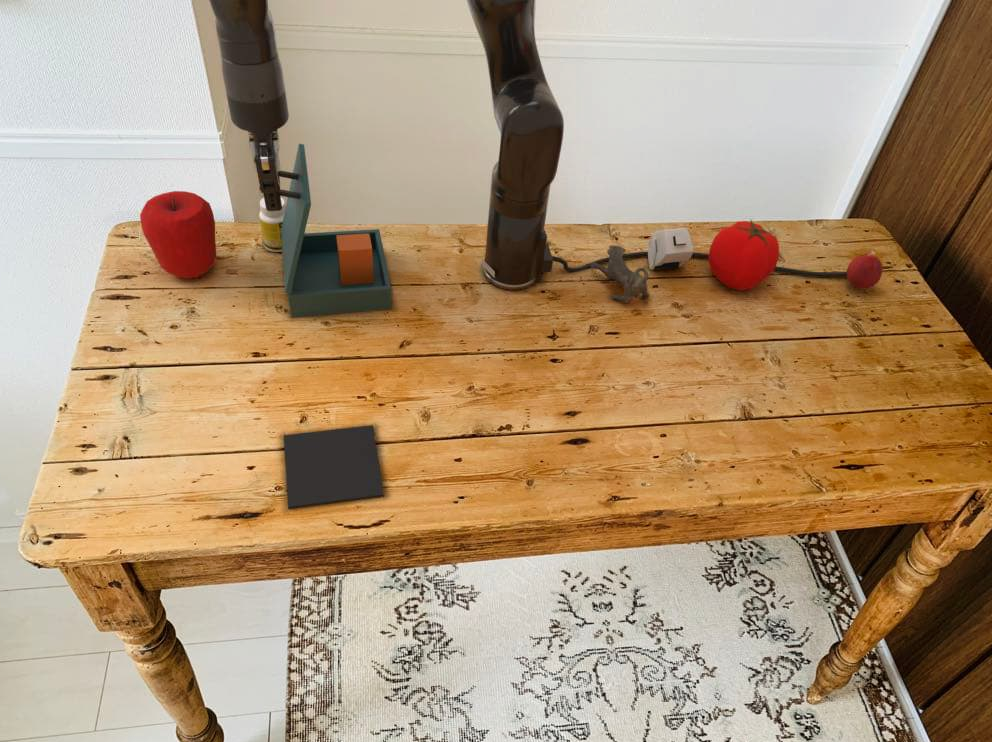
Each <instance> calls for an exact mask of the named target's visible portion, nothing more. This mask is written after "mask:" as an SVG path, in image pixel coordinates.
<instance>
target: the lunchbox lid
mask: <svg viewBox="0 0 992 742" xmlns="http://www.w3.org/2000/svg"><path fill="white" fill-rule="evenodd" d="M306 156H307V155H306V149H305V144H303V143H298V145H297V151H296V156H295V160H294V165H293V170H292V172H290V171H285V170H281V169H280V171H278V172H277V173H278V180H279V178H284V179H291V180H290V185H289V190H286V189H281V188H280V189H279V191H280V197H283V198H284V197H285V198H286V199H287V200H286V203H285V205H286V209H285V213H284V218H283V223H282V228H281V242H282V252H281V253H282V255H281V256H282V268H283V280H284V281H283V282H284V293H285V294H287V295H288V294H291V290H292V285H293V281H294V277H295V272H296V268H297V264H298V259H299V255H300V251H301V246H302V242H303V237H304V233H306V229H307V224H308V220H309V215H310V211H311V208H312V207H311V206H312V200H311V192H310V191H311V190H310V183H309V182H310V181H309V174H308V165H307V158H306Z"/></svg>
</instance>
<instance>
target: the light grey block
mask: <svg viewBox="0 0 992 742" xmlns="http://www.w3.org/2000/svg"><path fill="white" fill-rule="evenodd" d="M651 235H652V236H651V238H649V239H648V241H647V252H648V256H647V261H648V268H649V270H653V271H658V270H667V269H678V268H680V267H682V266H683V264H686V263H688V262H689V260H690V259H691V258H692V257H691V256H692V254H693V252H694V253H695V250H694V247H693V243H692V238H691V236H690V232H689V229H688V228H687V227H678V228H670V229H668V228H667V229H658V230H654V232H653V233H652V234H651Z"/></svg>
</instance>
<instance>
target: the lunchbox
mask: <svg viewBox="0 0 992 742" xmlns="http://www.w3.org/2000/svg"><path fill="white" fill-rule="evenodd" d="M368 233H369V235H370V240H371V246H372V259H373V282H374V283H368V284H354V285H341V281H340V274H339V264H338V252H337V240H336V235H351V234H368ZM386 260H387V259H386V256H385V251H384V246H383V242H382V236H381V231H380V229H379V228H376V229H375V228H374V229H360V230H359V229H358V230H339V231H322V232H321V231H319V232H305V233H304V237H303V242H302V246H301V251H300V255H299V259H298V264H297V268H296V272H295V277H294V281H293V285H292V290H291V294H288V293H287V295H288V296H287V299H288V304H289V311H290V317H291V318H298V317H309V316H310V317H311V316H322V315H323V316H324V315H335V314H347V313H361V312H372V311H386V310H392V309H393V306H392V305H393V304H392V302H393V301H392V285H391V279H390V275H389V269H388V266H387V261H386Z"/></svg>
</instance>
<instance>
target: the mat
mask: <svg viewBox="0 0 992 742" xmlns="http://www.w3.org/2000/svg"><path fill="white" fill-rule="evenodd" d="M283 448H284V463H285V479H286V496H287V509H297V508H304V507H312V506H319V505H329V504H334V503H341V502H343V503H344V502H350V501H357V500H363V499H364V500H366V499H372V498H379V497H384V496H385V493H384V487H383V480H382V475H381V474H382V473H381V468H380V463H379V461H380V460H379V456H378V455H379V454H378V449H377V442H376V436H375V430H374V424H371V425H370V424H369V425H361V426H352V427H344V428H335V429H326V430H315V431H309V432H299V433H292V434H291V433H289V434H283Z"/></svg>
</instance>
